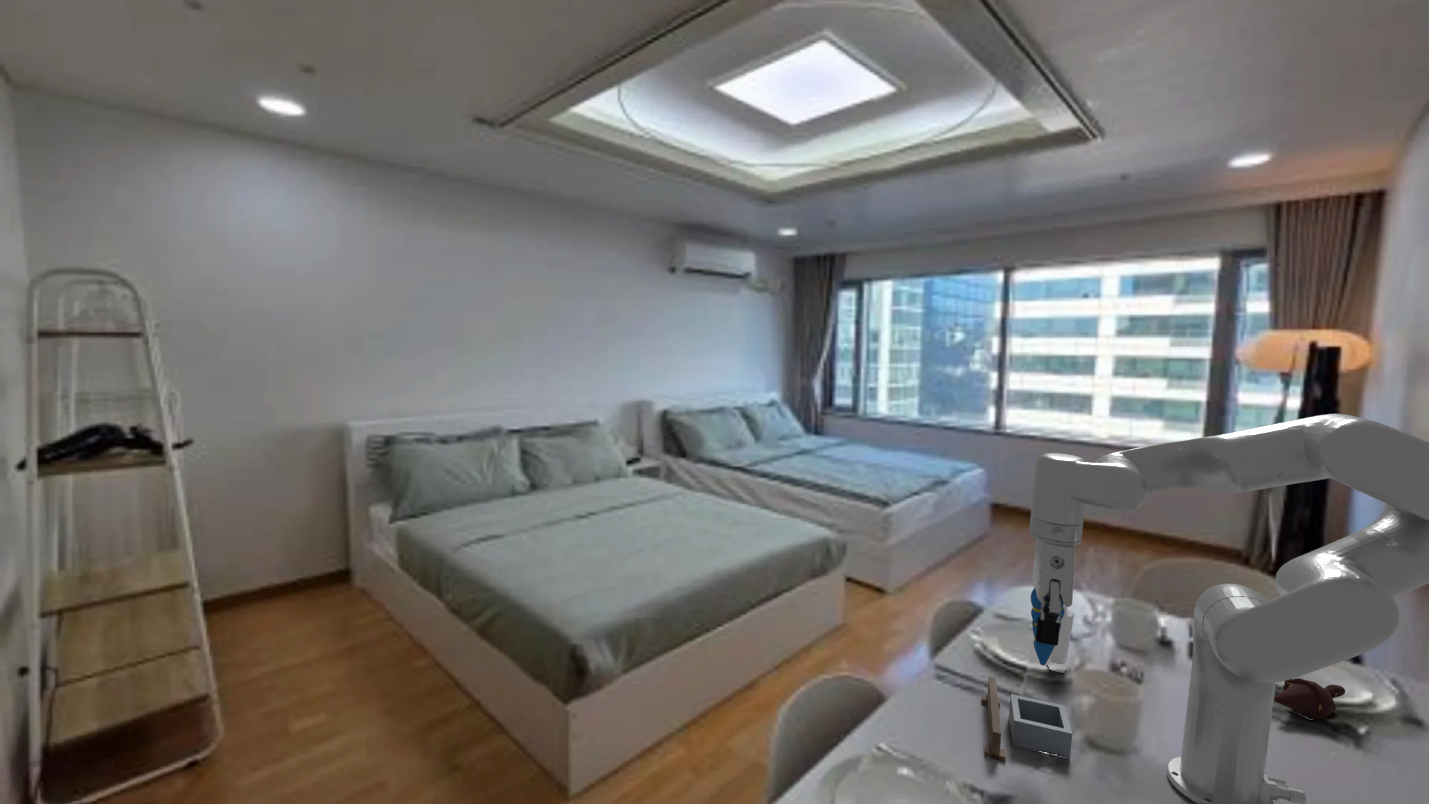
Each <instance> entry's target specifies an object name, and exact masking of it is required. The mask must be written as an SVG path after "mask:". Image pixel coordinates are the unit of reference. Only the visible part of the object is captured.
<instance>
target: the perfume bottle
mask: <svg viewBox="0 0 1429 804" xmlns="http://www.w3.org/2000/svg"><path fill="white" fill-rule="evenodd" d="M1063 607H1064V616H1063V618H1062V619H1061V621H1060V622H1061V628H1060V630H1059V640H1058V645H1057V646H1055V647H1054V649H1053V651H1052V653H1051V655H1050V657H1049V659H1050V661H1051V662H1053V663H1057V664H1064V663H1065V662H1066V663H1067V658H1068V652H1069V647H1070V642H1071V634H1072V631H1073V630H1072V629H1073V625H1074V619H1075V618H1074V617H1075V612H1074V611H1073V610H1070V609H1069V608H1068V607H1067V606H1066V605H1063Z"/></svg>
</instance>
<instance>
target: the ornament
mask: <svg viewBox="0 0 1429 804" xmlns="http://www.w3.org/2000/svg"><path fill="white" fill-rule="evenodd" d="M1045 600H1047V601H1049V597H1045ZM1030 602H1031V606H1032V608H1031V611H1030V615H1031V618H1032V621H1033V622H1034V624H1033V626H1032V634H1033V637H1034V640H1033V649H1034V651H1035V654H1036V656H1037V659H1038V662H1039V664H1040V665H1041V666H1044V667H1045V666H1046V663H1047V661H1048V659H1049V657H1050V655H1051V653H1052V651H1053V649H1054V647H1055V646H1054V645H1049V644H1044V643H1039V642H1037V641H1036V629H1037V619H1038V617H1040V607H1041V601H1039V600H1038V598H1037V595H1036V590H1035V588H1034V587H1033V589H1032V590H1031V593H1030ZM1063 605H1064V603H1063V600H1062V598H1061V610H1060V621H1061V619H1062V618H1063V616H1064V607H1063ZM1046 608H1049V605H1045V610H1046ZM1060 628H1061V622H1060Z"/></svg>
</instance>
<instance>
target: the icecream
mask: <svg viewBox="0 0 1429 804" xmlns="http://www.w3.org/2000/svg"><path fill="white" fill-rule="evenodd" d="M1283 682H1284V684H1283V686H1282V691H1281V692H1279V693H1278V694H1275V696H1274V703H1277V704H1280V705H1282V706H1285V707H1287V708H1289V709H1291V710H1292V711H1294V712H1296V713H1298V714H1301V715H1303V716H1306V717H1307V718H1309V719H1313V720H1315V721H1317V720H1322V719H1327V717H1328V716H1329V715H1330V714H1332V713H1333V712H1334V711H1336V710H1337V707H1336V704H1335V700H1334V699H1335V698H1339V697H1343V696H1344V695H1345V693H1346V689H1345V688H1344V687H1343V686H1342V685H1338V684H1328V685H1326V686H1325V687H1323V686H1322V685H1320V684H1319V683H1317V682H1315V681H1311V680H1307V679H1303V678H1300V677H1296V678H1293V679H1290V680H1285V681H1283ZM1294 712H1293V713H1294Z"/></svg>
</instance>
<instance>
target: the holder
mask: <svg viewBox="0 0 1429 804" xmlns="http://www.w3.org/2000/svg"><path fill="white" fill-rule="evenodd" d="M1008 709H1009V710H1008V723H1009V730H1010V740H1011V741H1010V742H1011V746H1012V747H1014V748H1019V749H1022V750H1027V751H1032V750H1033V751H1032V752H1035V751H1042V752H1047V753H1049V754H1057V756H1062V757H1065V758H1066V759H1065V760H1068V759H1069V760H1068V761H1070V760H1071V753H1072V752H1071V751H1072V741H1073V731H1072V729H1071V724H1070V721H1069V717H1068V713H1067V710H1066V706H1065V705H1064V704H1059V703H1054V702H1050V701H1045V700H1041V699H1036V698H1031V697H1026V696H1021V695H1017V694H1013V693H1010V698H1009V708H1008ZM1034 750H1035V751H1034Z"/></svg>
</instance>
